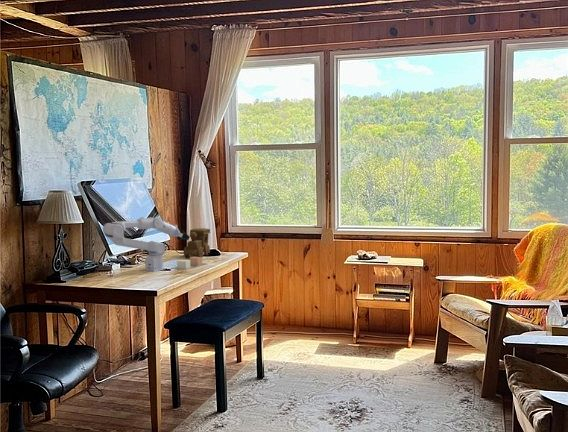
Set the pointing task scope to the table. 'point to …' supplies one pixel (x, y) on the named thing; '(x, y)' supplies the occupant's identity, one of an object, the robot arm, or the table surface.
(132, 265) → the table surface
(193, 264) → the baseplate
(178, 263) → the cream brick
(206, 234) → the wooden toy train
